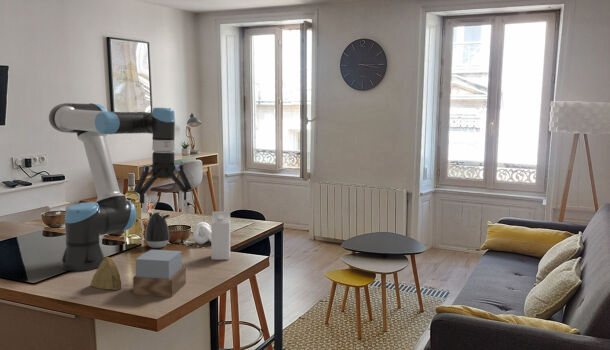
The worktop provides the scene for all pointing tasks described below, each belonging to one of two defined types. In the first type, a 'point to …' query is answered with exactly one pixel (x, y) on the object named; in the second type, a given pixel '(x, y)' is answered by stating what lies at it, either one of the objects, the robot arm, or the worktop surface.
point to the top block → (158, 264)
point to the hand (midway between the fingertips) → (163, 210)
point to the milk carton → (220, 236)
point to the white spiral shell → (202, 233)
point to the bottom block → (160, 285)
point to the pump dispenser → (157, 231)
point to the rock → (107, 276)
